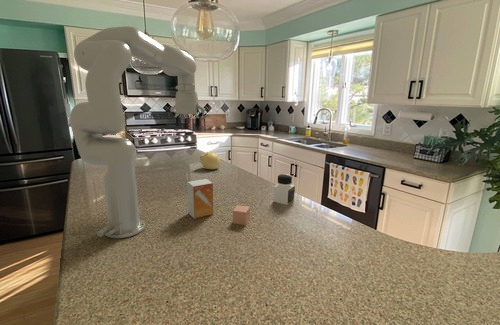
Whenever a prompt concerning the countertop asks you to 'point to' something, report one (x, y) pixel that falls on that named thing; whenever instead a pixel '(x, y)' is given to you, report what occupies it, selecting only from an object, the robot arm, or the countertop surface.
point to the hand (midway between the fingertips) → (188, 126)
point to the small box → (200, 198)
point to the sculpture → (210, 160)
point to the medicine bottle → (284, 190)
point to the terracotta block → (241, 215)
